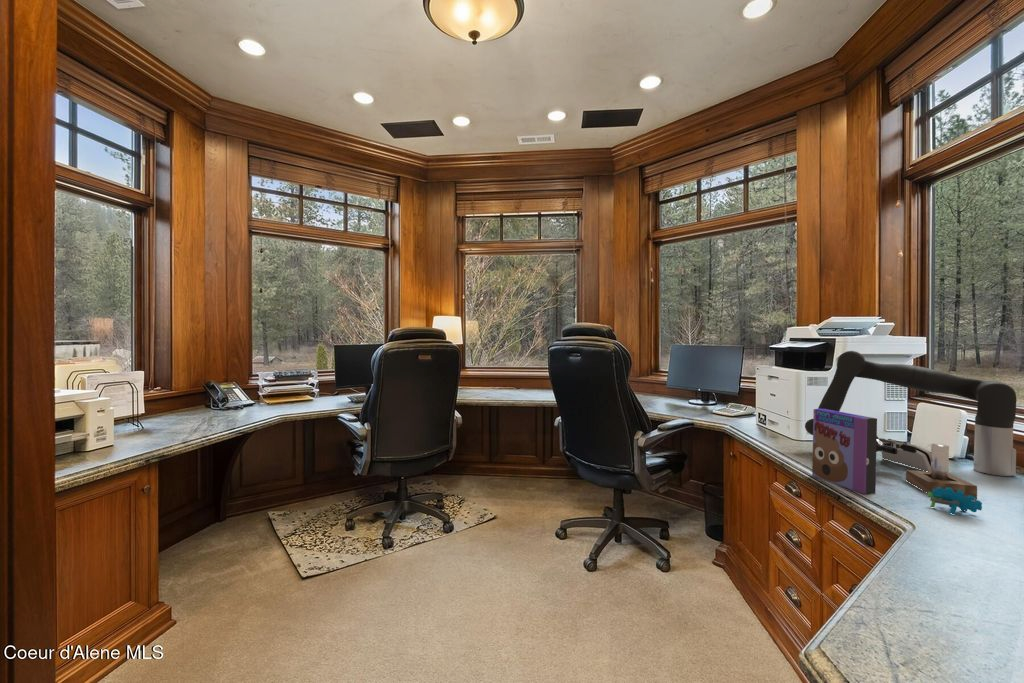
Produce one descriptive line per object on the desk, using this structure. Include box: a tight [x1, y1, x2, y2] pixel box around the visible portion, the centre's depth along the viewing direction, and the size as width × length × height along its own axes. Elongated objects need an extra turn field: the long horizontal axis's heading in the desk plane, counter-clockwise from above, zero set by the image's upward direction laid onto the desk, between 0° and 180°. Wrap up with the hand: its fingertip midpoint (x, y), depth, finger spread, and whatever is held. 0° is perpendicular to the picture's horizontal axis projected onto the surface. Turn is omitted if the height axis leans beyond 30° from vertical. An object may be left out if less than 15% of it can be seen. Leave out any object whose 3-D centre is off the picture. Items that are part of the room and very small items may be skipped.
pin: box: [930, 443, 950, 481], centre depth 136 cm, size 4×4×14 cm
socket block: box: [905, 469, 978, 500], centre depth 137 cm, size 12×12×4 cm
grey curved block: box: [881, 442, 931, 472], centre depth 161 cm, size 17×5×10 cm, turn 11°
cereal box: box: [811, 408, 878, 495], centre depth 141 cm, size 17×5×24 cm, turn 14°
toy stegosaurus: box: [926, 487, 983, 514], centre depth 119 cm, size 11×6×10 cm
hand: (906, 450), depth 146 cm, fingers open, 8 cm apart
